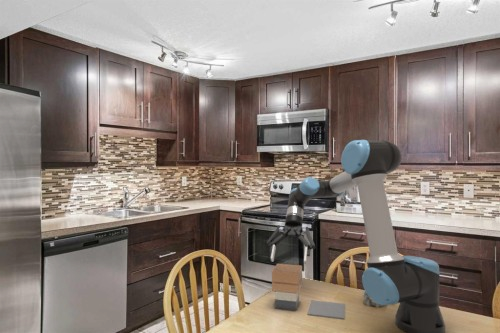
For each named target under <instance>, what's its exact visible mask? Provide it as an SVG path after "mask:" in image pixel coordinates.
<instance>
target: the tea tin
mask: <svg viewBox="0 0 500 333" xmlns="http://www.w3.org/2000/svg"><path fill="white" fill-rule="evenodd" d="M299 304H300V292H299V293H289V292H279V291H274V308H275V309H278V310H285V311H294V312H296V311H297V310H298V306H299Z"/></svg>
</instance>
